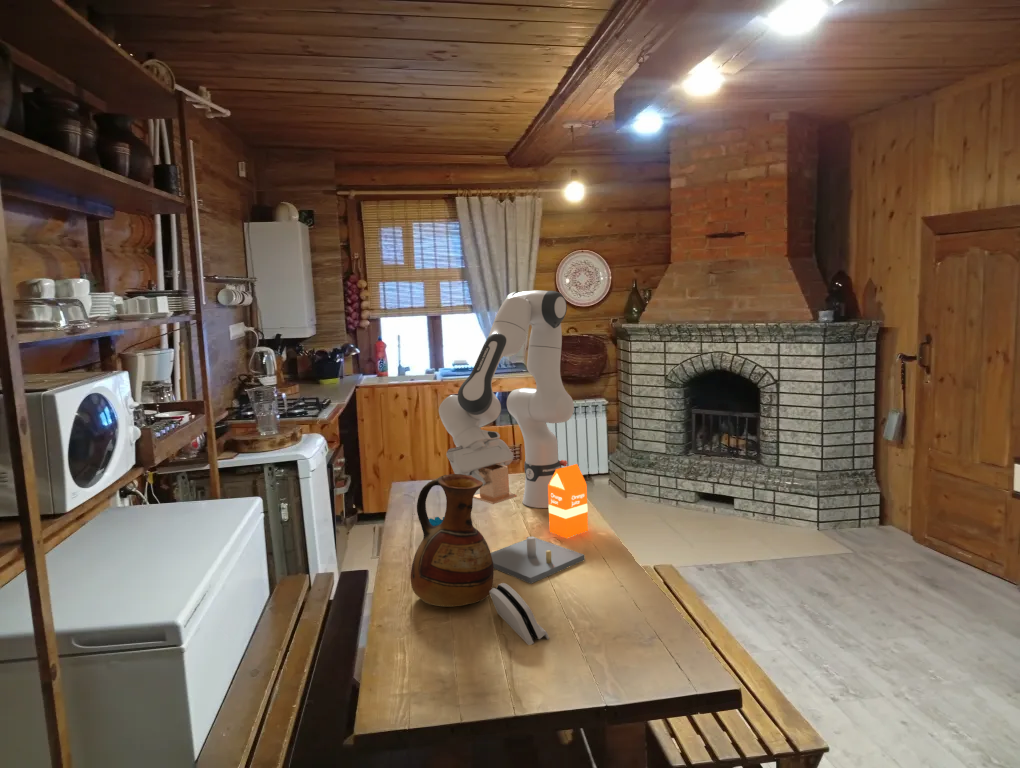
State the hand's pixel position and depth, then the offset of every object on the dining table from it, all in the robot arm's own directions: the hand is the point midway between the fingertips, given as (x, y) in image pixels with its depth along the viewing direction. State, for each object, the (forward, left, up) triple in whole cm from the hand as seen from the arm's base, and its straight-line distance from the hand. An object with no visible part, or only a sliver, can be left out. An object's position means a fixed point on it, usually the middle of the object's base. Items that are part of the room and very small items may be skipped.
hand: (495, 481), depth 199 cm
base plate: (+3, +17, -18) cm, 25 cm away
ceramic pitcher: (+31, +19, -18) cm, 41 cm away
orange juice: (-20, +9, -18) cm, 29 cm away
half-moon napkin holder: (+30, +41, -19) cm, 54 cm away
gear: (+9, -16, -19) cm, 26 cm away
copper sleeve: (0, -1, -5) cm, 5 cm away
